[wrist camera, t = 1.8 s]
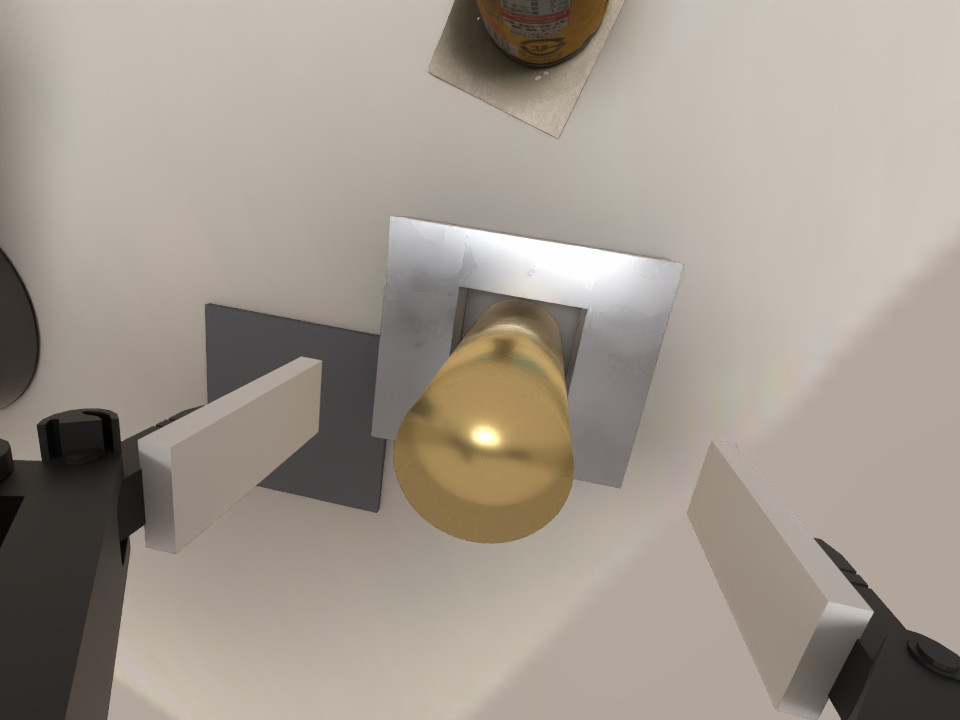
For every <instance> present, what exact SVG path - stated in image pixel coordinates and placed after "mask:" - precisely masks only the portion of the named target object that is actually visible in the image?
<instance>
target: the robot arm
mask: <svg viewBox="0 0 960 720" xmlns="http://www.w3.org/2000/svg"><path fill="white" fill-rule="evenodd" d="M36 355H37V337H36V328H35V323H34V318H33V314H32V311H31V308H30V304H29V302H28V299H27V296H26V294H25V292H24V289H23V287H22V285H21V283H20V281H19V279H18V277H17V276H16V274H15V272H14V270H13V269H12V267H11V266H10V264H9V263H8V261H7V260H6V258H5V257H4V256H3V254H2V253H1V252H0V409H1V408H3V407H5V406H7V405H9V404H11V403H12V402H13V401H15V400H16V399H17V398H18V397H19V396H20V395H21V394H22V393H23V391H24V390H25V388H26V387H27V385H28V383H29V381H30V379H31V377H32V374H33V371H34V368H35V363H36ZM321 372H322V361H321V360H316V359H312V358H307V357H302V356H301V357H299V358H297V359H295V360H294V361H292V362H290V363H288V364H286V365H284V366H282V367H280V368H278V369H276V370H274V371H272V372H270V373H268V374H266V375H264V376H262V377H260V378H258V379H256V380H254V381H252V382H250V383H248V384H246V385H245V386H243V387H241V388H239V389H237V390H235V391H233V392H231V393H229V394H227V395H225V396H223V397H221V398H219V399H217V400H215V401H213V402H211V403H209V404H207V405H203V406H199V407H196V408H192V409H188V410H184V411H182V412H180V413H178V414H176V415H174V416H172V417H170V418H169V420H164V421H162V422H160V423H158V424H156V426H155V427H154V426H152V427H150V428H148V429H146V430H144V431H142V432H140V433H138V434H136V435H134V436H132V437H130V438H128V439H126V440H124V441H122V442H121V438H120V427H119V418H118V415H117V414H116V413H114V412H112V411H110V410H105V409H78V410H70V411H65V412H62V413H58V414H54V415H52V416H50V417H47V418H45V419H43V420H42V421H41V422H40V423H38V424H37V430H38V437H39V444H40V450H41V457H42V461H25V460H13V459H12V453H11V447H10V445H9V442H8V441H5V440H2V439H0V720H107V717H108V710H109V702H110V695H111V687H112V681H113V673H114V666H115V659H116V651H117V644H118V637H119V629H120V622H121V614H122V607H123V600H124V592H125V585H126V578H127V570H128V563H129V556H130V538H129V536H130V535H131V534H132V533H134V532H135V531H137V530H138V529H139V528H141V527H142V526H143V525H144V528H145V541H146V547H149V548H153V549H157V550H161V551H164V552H168V553H172V554H177V553H178V552H180V551H181V550H182V549H183V548H184V547H185V546H187V545H188V544H189V543H190V542H191V541H192V540H194V539H195V538H196V537H197V536H198V535H199V534H200V533H202V532H203V531H204V530H205V529H206V528H207V527H209V526H210V525H211V524H212V523H213V522H214V521H216V520H217V519H218V518H219V517H220V516H221V515H223V514H224V513H225V512H226V511H227V510H228V509H229V508H231V507H232V506H233V505H234V504H235V503H236V502H238V501H239V500H240V499H241V498H242V497H243V496H245V495H246V494H247V493H248V492H249V491H250V490H252V489H253V488H254V487H255V486H256V485H257V484H258V483H260V482H261V481H262V480H263V479H264V478H265V477H267V476H268V475H269V474H270V473H271V472H272V471H274V470H275V469H276V468H277V467H278V466H279V465H280V464H282V463H283V462H284V461H285V460H286V459H287V458H289V457H290V456H291V455H292V454H293V453H294V452H296V451H297V450H298V449H299V448H300V447H301V446H303V445H304V444H305V443H306V442H307V441H308V440H309V439H311V438H312V437H313V436H314V435H315V434H316V433H318V429H319V410H320V391H321ZM687 515H688V517H689V519H690V522H691V524H692V526H693V528H694V530H695V533H696V535H697V537H698V539H699V541H700V544H701V546H702V548H703V550H704V552H705V555H706V557H707V559H708V561H709V563H710V566H711V568H712V570H713V572H714V575H715V577H716V579H717V581H718V583H719V586H720V588H721V590H722V592H723V594H724V597H725V599H726V601H727V603H728V605H729V608H730V610H731V612H732V614H733V616H734V619H735V621H736V623H737V625H738V627H739V630H740V632H741V634H742V636H743V639H744V641H745V643H746V645H747V647H748V650H749V651H750V654H751V656H752V658H753V661H754V663H755V665H756V667H757V669H758V672H759V674H760V676H761V678H762V680H763V683H764V685H765V687H766V689H767V692H768V694H769V696H770V698H771V700H772V702H773V705H774V707H775V709H776V711H779V712H783V713H787V714H790V715H794V716H798V717H802V718H806V719H810V720H818V718H819V717H820V715H821V713H822V711H823V709H824V707H825V705H826V703H827V701H828V699H830V700H831V702H832V704H833V705H834V707H835V709H836V711H837V712H838V714H839V716H840V718H841V720H960V657H959V656H958V655H957V654H955V653H954V652H952V651H951V650H949V649H948V648H946V647H944V646H943V645H941V644H940V643H938V642H936V641H934V640H932V639H930V638H928V637H926V636H924V635H922V634H919V633H916V632H912V631H909V630H906V628H905V627H904V626H903V625H902V624H901V623H900V621H899V620H898V619H897V618H896V617H895V616H894V615H893V613H892V612H891V611H890V610H889V609H888V608H887V607H886V605H884V603H883V602H882V601H881V600H880V598H879V597H878V596H877V595H876V594H875V593H874V592H873V590H872V589H869V588H868V585H867V583H866V582H865V581H864V580H863V579H862V578H861V577H860V575H857V574H856V571H855V570H854V568H853V567H852V566H851V565H850V564H849V563H848V561H846V560H845V558H844V557H843V556H842V555H841V554H840V553H838V552H837V551H836V550H834V549H833V548H832V547H831V546H829V545H828V544H827V543H825V542H824V541H822V540H821V539H817V538H813V537H812V536H811V535H810V534H809V532H808V531H807V530H806V529H805V527H804V526H803V525H802V524H801V523H800V521H799V520H798V519H797V518H796V517H795V515H794V514H793V513H792V512H791V510H790V509H789V508H788V507H787V506H786V504H785V503H784V502H783V501H782V500H781V498H780V497H779V496H778V495H777V493H776V492H775V491H774V490H773V488H772V487H771V486H770V485H769V484H768V482H767V481H766V480H765V479H764V478H763V476H762V475H761V474H760V473H759V472H758V470H757V469H756V468H755V467H754V465H753V464H752V463H751V462H750V461H749V459H748V458H747V457H746V456H745V454H744V453H743V452H742V451H741V450H740V448H739V447H738V446H737V445H735V444H730V443H725V442H720V441H715V440H711V443H710V446H709V449H708V452H707V455H706V458H705V461H704V464H703V467H702V470H701V473H700V476H699V479H698V481H697V484H696V487H695V490H694V493H693V496H692V499H691V502H690V505H689V508H688V511H687Z"/></svg>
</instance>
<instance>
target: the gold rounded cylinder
mask: <svg viewBox="0 0 960 720" xmlns="http://www.w3.org/2000/svg"><path fill="white" fill-rule="evenodd" d="M394 466H395V472H396V476H397V479H398V482H399V484H400V487H401V489H402V491H403V493H404V495H405V497H406V498H407V500H408V501H409V502H410V504H411V505H412V507H413V508H414V509H415V510H416V511H417V512H418V513H419V514H420V515H421V516H422V517H423V518H424V519H425V520H427V521H428V522H429V523H430V524H432V525H433V526H435V527H436V528H438V529H440V530H441V531H443V532H445V533H447V534H449V535H452V536H454V537H457V538H460V539H463V540H467V541H472V542H478V543H503V542H509V541H514V540H517V539H521V538H524V537H526V536H528V535H531V534H533V533H535V532H536V531H538V530H539V529H541V528H543V527H544V526H545V525H546V524H548V523H549V522H550V521H551V520H552V519H553V518H554V517H555V516H556V515H557V514H558V512H559V511H560V510H561V508H562V507H563V505H564V503H565V501H566V499H567V497H568V495H569V492H570V489H571V486H572V481H573V475H574V461H573V451H572V441H571V431H570V421H569V411H568V401H567V392H566V382H565V372H564V362H563V352H562V342H561V335H560V331H559V328H558V326H557V324H556V322H555V320H554V319H553V318H552V316H551V315H550V314H549V313H548V312H547V311H546V310H545V309H543V308H542V307H541V306H539V305H537V304H535V303H533V302H530V301H526V300H520V299H510V300H505V301H501V302H498V303H496V304H494V305H492V306H491V307H489V308H488V309H487V310H485V311H484V312H483V313H482V314H481V315H480V317H479V318H478V319H477V321H476V322H475V323H474V325H473V326H472V327H471V329H470V330H469V331H468V333H467V334H466V335H465V337H464V338H463V339H462V341H461V342H460V343H459V345H458V346H457V347H456V349H455V350H454V351H453V353H452V354H451V355H450V357H449V358H448V360H447V361H446V362H445V364H444V365H443V366H442V368H441V369H440V370H439V372H438V373H437V374H436V376H435V377H434V378H433V380H432V381H431V382H430V384H429V385H428V386H427V388H426V389H425V390H424V392H423V393H422V394H421V396H420V397H419V398H418V400H417V401H416V402H415V404H414V405H413V406H412V408H411V409H410V410H409V412H408V413H407V415H406V416H405V417H404V419H403V421H402V423H401V425H400V427H399V429H398V432H397V435H396V439H395V445H394Z"/></svg>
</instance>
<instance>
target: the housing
mask: <svg viewBox="0 0 960 720" xmlns="http://www.w3.org/2000/svg"><path fill="white" fill-rule="evenodd" d="M683 266H684V264H682V263H679V262H675V261H672V260H669V259H663V258H657V257H651V256H645V255H639V254H633V253H626V252H620V251H614V250H608V249H602V248H596V247H590V246H584V245H578V244H571V243H565V242H559V241H553V240H547V239H541V238H535V237H529V236H523V235H517V234H510V233H504V232H498V231H492V230H486V229H480V228H474V227H468V226H462V225H456V224H449V223H443V222H437V221H431V220H425V219H419V218H413V217H402V216H391V220H390V231H389V243H388V254H387V265H386V276H385V287H384V298H383V309H382V321H381V332H380V343H379V354H378V365H377V376H376V387H375V398H374V410H373V421H372V432H371V436H373V437H378V438H383V439H388V440H392V441H395V439H396V435H397V432H398V429H399V427H400V425H401V423H402V421H403V419H404V417H405V416H406V415H407V413H408V412H409V410H410V409H411V408H412V406H413V405H414V404H415V402H416V401H417V400H418V398H419V397H420V396H421V394H422V393H423V392H424V390H425V389H426V388H427V386H428V385H429V384H430V382H431V381H432V380H433V378H434V377H435V376H436V374H437V373H438V372H439V370H440V369H441V368H442V366H443V365H444V364H445V362H446V361H447V360H448V358H449V357H450V355H451V354H452V353H453V351H454V350H455V349H456V347H457V346H458V345H459V343H460V338H461V331H462V324H463V318H464V311H465V304H466V297H467V290H468V288H471V289H477V290H482V291H488V292H494V293H499V294H505V295H511V296H516V297H522V298H528V299H533V300H539V301H545V302H550V303H556V304H562V305H567V306H573V307H579V308H581V312H580V317H579V321H578V326H577V330H576V335H575V339H574V344H573V348H572V353H571V357H570V362H569V366H568V371H567V375H566V380H565V382H566V392H567V401H568V411H569V421H570V431H571V441H572V451H573V461H574V475H573V479H578V480H582V481H587V482H592V483H596V484H601V485H606V486H611V487H615V488H620V489H621V485H622V482H623V478H624V475H625V471H626V468H627V464H628V460H629V457H630V453H631V450H632V446H633V443H634V439H635V436H636V432H637V429H638V425H639V422H640V418H641V415H642V411H643V407H644V404H645V400H646V397H647V393H648V390H649V386H650V383H651V379H652V376H653V372H654V369H655V365H656V362H657V358H658V354H659V351H660V347H661V344H662V340H663V337H664V333H665V330H666V326H667V323H668V319H669V316H670V312H671V309H672V305H673V301H674V298H675V294H676V291H677V287H678V284H679V280H680V277H681V273H682V270H683Z"/></svg>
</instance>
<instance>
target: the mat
mask: <svg viewBox="0 0 960 720" xmlns="http://www.w3.org/2000/svg"><path fill="white" fill-rule="evenodd" d="M205 322H206V357H207V392H208V404H209V403H211V402H213V401H215V400H217V399H219V398H221V397H223V396H225V395H227V394H229V393H231V392H233V391H235V390H237V389H239V388H241V387H243V386H245V385H246V384H248V383H250V382H252V381H254V380H256V379H258V378H260V377H262V376H264V375H266V374H268V373H270V372H272V371H274V370H276V369H278V368H280V367H282V366H284V365H286V364H288V363H290V362H292V361H294V360H295V359H297V358H299V357H301V356H302V357H307V358H312V359H316V360H321V361H322V372H321V391H320V410H319V429H318V433H316V434H315V435H314V436H313V437H312V438H311V439H309V440H308V441H307V442H306V443H305V444H304V445H303V446H301V447H300V448H299V449H298V450H297V451H296V452H294V453H293V454H292V455H291V456H290V457H289V458H287V459H286V460H285V461H284V462H283V463H282V464H280V465H279V466H278V467H277V468H276V469H275V470H274V471H272V472H271V473H270V474H269V475H268V476H267V477H265V478H264V479H263V480H262V481H261V482H260V483H258V484H257V485H256V486H260V487H265V488H269V489H273V490H278V491H282V492H287V493H291V494H296V495H300V496H304V497H309V498H313V499H318V500H322V501H326V502H331V503H335V504H340V505H344V506H349V507H353V508H357V509H362V510H366V511H371V512H375V513H377V512H378V510H379V506H380V496H381V486H382V476H383V466H384V456H385V446H386V439H383V438H378V437H373V436H371V432H372V421H373V410H374V398H375V387H376V376H377V365H378V354H379V343H380V336H379V335H374V334H368V333H363V332H358V331H352V330H347V329H342V328H337V327H331V326H326V325H321V324H315V323H310V322H305V321H300V320H294V319H289V318H284V317H279V316H273V315H268V314H263V313H257V312H252V311H247V310H242V309H236V308H231V307H226V306H221V305H215V304H210V303H209V304H205Z"/></svg>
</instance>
